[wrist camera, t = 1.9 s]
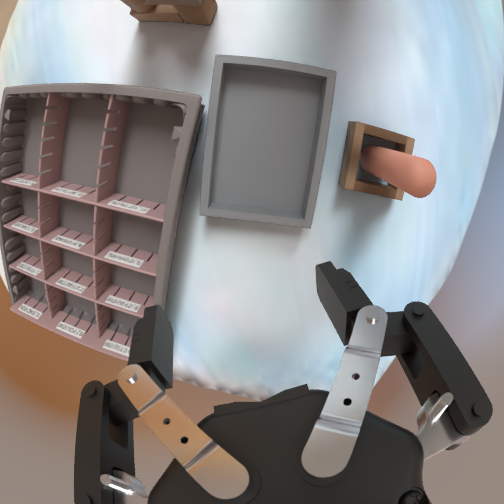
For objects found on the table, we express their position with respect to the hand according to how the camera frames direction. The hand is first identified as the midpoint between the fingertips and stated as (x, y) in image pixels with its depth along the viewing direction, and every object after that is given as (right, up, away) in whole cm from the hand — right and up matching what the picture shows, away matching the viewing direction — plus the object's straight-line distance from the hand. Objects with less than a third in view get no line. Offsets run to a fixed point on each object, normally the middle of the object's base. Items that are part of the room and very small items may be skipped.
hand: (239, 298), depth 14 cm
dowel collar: (+17, +15, +21) cm, 31 cm away
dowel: (+17, +15, +21) cm, 31 cm away
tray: (+2, +17, +20) cm, 26 cm away
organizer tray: (-25, +8, +25) cm, 37 cm away
